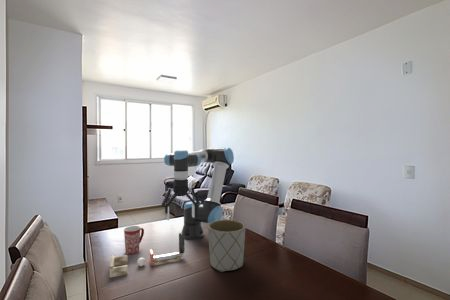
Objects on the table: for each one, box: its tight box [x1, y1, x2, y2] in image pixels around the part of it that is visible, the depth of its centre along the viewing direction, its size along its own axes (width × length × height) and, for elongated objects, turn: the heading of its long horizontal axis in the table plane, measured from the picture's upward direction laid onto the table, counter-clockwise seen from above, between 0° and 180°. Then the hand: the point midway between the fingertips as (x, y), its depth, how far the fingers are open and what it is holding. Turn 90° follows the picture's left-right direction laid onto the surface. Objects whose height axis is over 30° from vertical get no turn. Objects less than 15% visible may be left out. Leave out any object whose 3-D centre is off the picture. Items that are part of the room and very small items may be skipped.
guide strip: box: [152, 254, 182, 267], centre depth 121 cm, size 14×4×3 cm, turn 113°
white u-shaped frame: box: [149, 232, 186, 267], centre depth 122 cm, size 18×6×13 cm, turn 113°
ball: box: [136, 257, 146, 267], centre depth 116 cm, size 4×4×4 cm
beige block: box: [109, 254, 128, 278], centre depth 112 cm, size 8×12×5 cm, turn 23°
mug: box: [123, 225, 145, 255], centre depth 134 cm, size 13×9×14 cm
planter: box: [207, 219, 246, 273], centre depth 118 cm, size 19×19×20 cm
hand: (180, 218), depth 124 cm, fingers open, 13 cm apart
